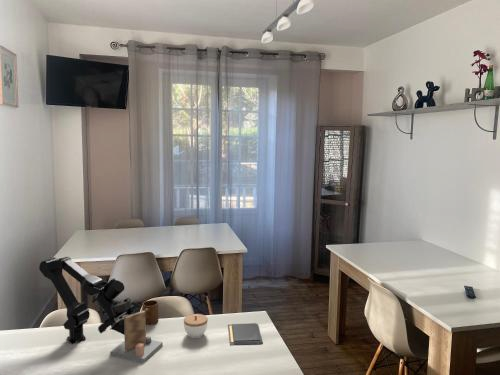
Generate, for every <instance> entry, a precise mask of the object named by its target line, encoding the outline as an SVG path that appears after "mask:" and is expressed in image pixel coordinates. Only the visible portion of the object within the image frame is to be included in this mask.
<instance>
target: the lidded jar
mask: <svg viewBox="0 0 500 375" xmlns="http://www.w3.org/2000/svg"><path fill="white" fill-rule="evenodd" d="M208 320H209V318H208V317H207V316H206V315H204V314H201V313H194V314H188V315H186V316H185V317H184V319H183V326H184V328H183V329H184V332H185V333H186V334H187V335H188V336H189V338H191V339H199V338H202V337H203V335H204V334H205V333H206V331H207V329H208Z"/></svg>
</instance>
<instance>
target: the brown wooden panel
mask: <svg viewBox="0 0 500 375" xmlns="http://www.w3.org/2000/svg"><path fill="white" fill-rule="evenodd" d="M146 326H147V324H146V314H145V311H142V310H141V311H138V312H133V313H132V314H131V315H128V316H125V317H124V341H125V350H126V351H127V350H130V349H132V348H135V346H136V345H137V344H138V343H141V344H145V343H146V337H147V329H146Z"/></svg>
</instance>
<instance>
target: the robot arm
mask: <svg viewBox="0 0 500 375" xmlns="http://www.w3.org/2000/svg"><path fill="white" fill-rule="evenodd" d="M38 268H39V269H38V270H39V271H40V273H41V274H42V275H43V277H44V278H46V279H48V280H50V281H51V282H52V284H53V286H54V287H55V290H56V291H57V293H58V295H59V297H60V299H61V301H62V302H63V304H64V306H65V308H66V318H67V320H66V321H65V322H64V323H63V328H64V329H65V330H68V336H67V337H66V338H67V340H68V342H69V344H71V345H72V344H74V343H78V342H81V341H85V340H86V339H87V338H86V336H85V335H84V325H85V324H86V323H88V320H89V318H90V315H91V314H90V313H91V312H90V309H89V308H88V306H87V304H86V303H85V302H82V303H81V302H79V300H78V299H77V297H76V295H75V293H74V292H73V291H72V289H71V287H70V285H69V283H68V282H67V280H66V279H65V277H64V275H63V271H65V272H66V273H67V274H69V275H70V276H71V277H72V278H74V280H76V281H77V282H78V283H80V285H81V288H82V289H83V291H84V292H85V293H86V294H87V295H88V296H92V301H91V302H92V304H95V303H97V304H98V305H99V307H100V309H102V312H101V314H102V315H106V317H107V319H106V320H104V321H103V322H102V323H101V324H100V325H99V326H98V329H97V330H98V332H99V333H100V334H103V333H105V332H106V331H107V329H108V328H109V327H110V328H109V330H113V331H116V332H117V333H120V334H122V335H124V317H125V316H128V315H131V314H134V313H135V311H136V310H137V309H138V308H137V307H136V305H135V304H133V301H132V299H131V298H130V297H126V298H124V299H123V301H122V302H120V301H118V300H117V301H115V299H116V298H117V297H118V296H119V295H121V293H122V292H123V291H125V284H124V283H123V282H122V281H120V280H116V278H114V277H113V278H112V279H110V280H109V281H105V280H104V279H102V278H101V277H99V276H97V275H94V274H90V273H89V272H87V271H86V270H85V269H83V268H82V267H81V266H79V265H78V264H77V263H76V262H75V261H73V260H72V258H71V257H70V256H64V257H61V258H58V257H51V258H48V259H45V260H42V261H41V262H40V263H39V267H38Z"/></svg>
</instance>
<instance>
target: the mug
mask: <svg viewBox="0 0 500 375" xmlns="http://www.w3.org/2000/svg"><path fill="white" fill-rule="evenodd" d="M141 309H142V310H141V311H145V314H146V326H147V325H148V326H149V325H155V324H157V323H158V322H159V302H158V301H157V300H155V299H154V300H152V299H151V300H146V301H144V302H142V308H141Z"/></svg>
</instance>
